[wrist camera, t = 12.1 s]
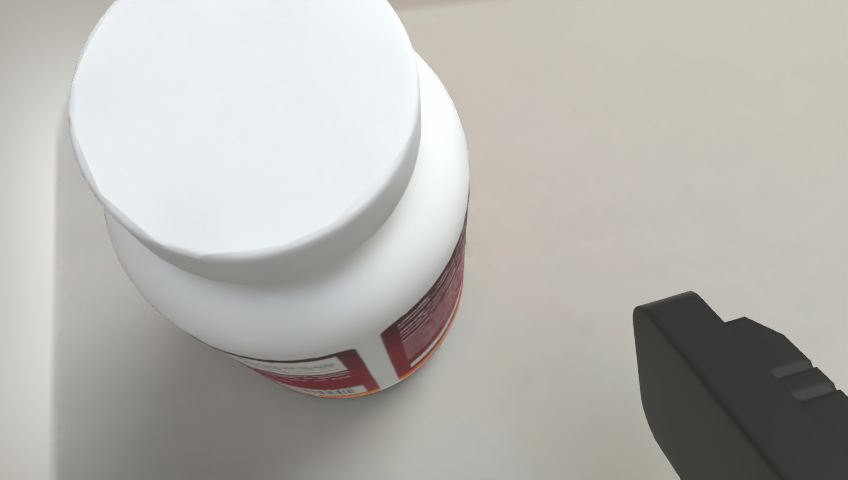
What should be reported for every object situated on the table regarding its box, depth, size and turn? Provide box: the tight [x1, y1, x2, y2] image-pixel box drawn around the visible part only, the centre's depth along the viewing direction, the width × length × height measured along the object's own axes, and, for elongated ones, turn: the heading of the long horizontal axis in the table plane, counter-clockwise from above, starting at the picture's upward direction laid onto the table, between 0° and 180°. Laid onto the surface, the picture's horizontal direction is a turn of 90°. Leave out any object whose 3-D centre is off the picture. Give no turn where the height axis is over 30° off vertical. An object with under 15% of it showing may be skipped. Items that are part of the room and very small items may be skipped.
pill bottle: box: [69, 0, 469, 398], centre depth 16 cm, size 6×6×11 cm
